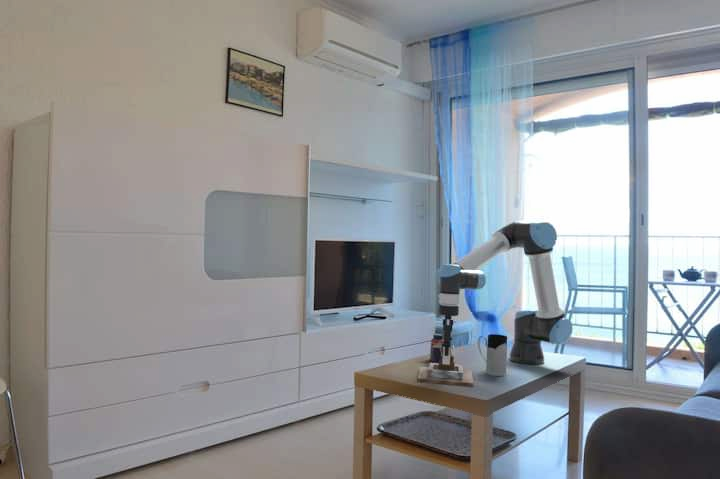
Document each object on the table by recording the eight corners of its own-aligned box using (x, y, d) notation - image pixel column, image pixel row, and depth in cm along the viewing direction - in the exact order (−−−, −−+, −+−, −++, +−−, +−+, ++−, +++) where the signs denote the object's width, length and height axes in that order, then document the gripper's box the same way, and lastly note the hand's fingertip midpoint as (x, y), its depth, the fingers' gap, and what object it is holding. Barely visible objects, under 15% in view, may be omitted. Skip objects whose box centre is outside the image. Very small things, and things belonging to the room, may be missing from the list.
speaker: (449, 363, 228) (448, 339, 228) (452, 367, 222) (451, 342, 222) (431, 364, 228) (430, 340, 228) (434, 368, 222) (433, 343, 222)
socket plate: (471, 373, 213) (471, 364, 213) (473, 386, 193) (473, 376, 193) (420, 369, 216) (420, 360, 216) (417, 381, 196) (417, 371, 196)
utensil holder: (455, 376, 201) (456, 344, 201) (438, 375, 201) (439, 343, 202) (452, 372, 207) (454, 341, 207) (436, 371, 207) (438, 340, 207)
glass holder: (497, 376, 210) (499, 338, 210) (469, 368, 221) (471, 332, 222) (511, 374, 215) (513, 337, 215) (484, 367, 226) (486, 331, 227)
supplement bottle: (427, 360, 235) (428, 334, 235) (433, 358, 240) (434, 332, 240) (440, 362, 231) (441, 336, 232) (445, 360, 236) (447, 334, 237)
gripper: (439, 300, 218) (437, 353, 217) (438, 307, 193) (435, 366, 193) (458, 302, 216) (455, 355, 216) (459, 308, 192) (456, 368, 192)
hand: (446, 360), depth 204 cm, fingers open, 13 cm apart
